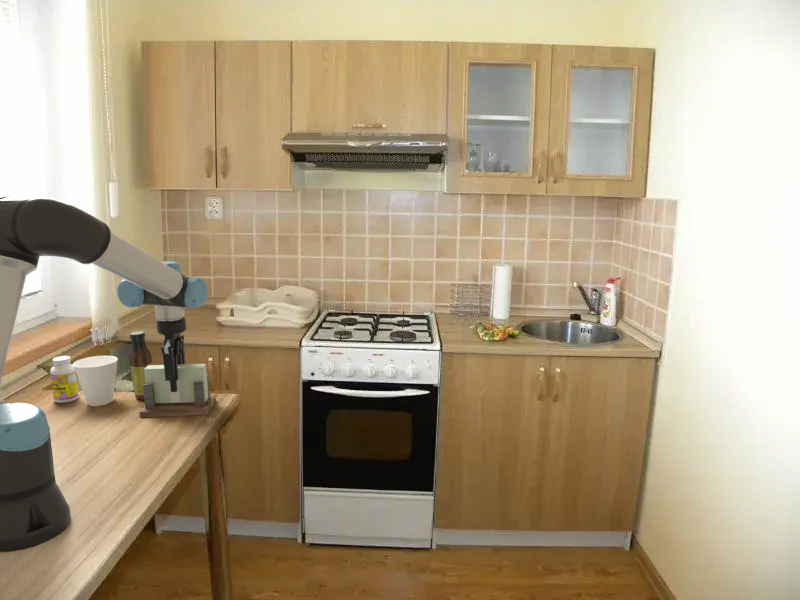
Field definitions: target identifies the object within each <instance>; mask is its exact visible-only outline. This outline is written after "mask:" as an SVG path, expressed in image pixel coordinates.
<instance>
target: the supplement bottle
mask: <svg viewBox="0 0 800 600" xmlns="http://www.w3.org/2000/svg"><path fill="white" fill-rule="evenodd" d="M71 361H72V360H71V356H69V355H61V356H56V357H53V358H52V364H53V366H52V367H51V369H50V370H49V372H50V373H49V374H50V381H51V387H52V388H51V389H52V397H53V401H54V402H55V403H58V404H66V403H71V402H74V401H76V400H77V399H78V398H79V397H80V396H79V387H78V377H77V374H76V371H75V369H74V366H73V364H71Z"/></svg>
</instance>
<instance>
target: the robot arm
mask: <svg viewBox="0 0 800 600" xmlns="http://www.w3.org/2000/svg"><path fill="white" fill-rule="evenodd" d="M40 257H58V258H59V257H60V258H65V259H70V260H73V261H76V262H77V263H80V264H83V265H90V264H93V265H95V266H96V267H99V268H101V269H103V270H105V271H107V272H108V273H111V274H113V275H114V276H117V277H119V278H121V279H122V280H121V281H120V282H119V283H118V285H117V289H116V291H117V298H118V300H119V301H120V303H121V304H122V305H123V306H125V307H127V308H136V307H137V308H139V307H142V306H154V312H155V318H156V330H157V332H156V333H158V334H159V335H163V336H164V339H163V346H161V347H160V349H161V353H162V360H163V361H162V362H163V365H164V370H165V381H169V389H170V400H171V403H175V402H181V392H180V381H179V379H178V367H177V365H178V364H186V356H185V335H183V334H182V333H184V332H185V331H186V330H187V325H186V324H187V323H186V318H185V317H184V316H185V314H186V313H185V310H186V309H187V308H188V309H191V308H200V307H202V306H204V305H205V303H206V302H207V301H208V295H209V287H208V284H207V283H206V281H205V280H204V279H203V278H201V277H195V276H191V277H190V276H186V275H184V274H182V271H181V264H180V263H179V262H177V261H173V260H171V261H160V260H158V259H157V258H154V257H153V256H151V255H150V254H149V253H147V252H145V251H144V250H141V249H140V248H138V247H137V246H134V245H133V244H131V243H129V242H128V241H126V240H124V239H123V238H121V237H120V236H118V235H116V234H114V233H113V232H112V231H111V228H110V227H109V225H108V224H106V223H105V222H104V221H102V220H100V219H98V218H97V217H95V216H93V215H92V214H90V213H88V212H86V211H84V210H82V209H80V208H78V207H76V206H74V205H72V204H70V203H67V202H65V201H63V200H60V199H56V198H53V197H46V196H42V197H41V196H38V197H37V196H36V197H31V196H29V197H13V196H0V384H1V381H2V379H3V374H4V369H5V367H6V361H7V357H8V352H9V349H10V345H11V340H12V338H13V337H12V336H13V333H14V332H13V331H14V328H15V323H16V319H17V316H18V311H19V307H20V303H21V298H22V295H23V291H24V286H25V283H26V278H27V276H28V275H30V273H32V272H35V271H36V270H37V269H38V264H39V261H40ZM52 447H53V446H52V438H51V427H50V425H49V423H48V418H47V414H46V413H45V411H44V410H43V409H42V408H40V407H38V406H37V405H35V404H31V403H26V402H14V403H9V402H5V400H4V399H3V398H2V396H0V552H5V551H6V552H7V551H17V550H21V549H26V548H30V547H33V546H37V545H38V544H41V543H44V542H46V541H49V540H50V539H52V538H54V537H55V536H57V535H59V534H60V533H62V532H63V531H64V530H65V529H66V528H67V527H68V526H69V525H70V523H71V520H72V516H71V508H70V505H69V503H68V501H67V500H66V498H65V496H64V494H63V493H62V490H61V489H60V487H59V486H58V483H57V482H56V474H55V466H54V465H55V464H54V457H53V448H52Z"/></svg>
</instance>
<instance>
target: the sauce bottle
mask: <svg viewBox="0 0 800 600" xmlns="http://www.w3.org/2000/svg"><path fill="white" fill-rule="evenodd" d="M145 337H146V333H145V331H142V330H139V331H138V330H137V331H132V332H131V333H129V339H130V340H131V341H130V342H131V352H130V354H129V367H130V373H131V379H132V380H131V381H132V387H133V393H134V395H135V399H137V400H142V401H143V400H144V391H143V385H144V384H145V374H144V369H145V368H146V367H147V366H148V365H154V364H153V363H154V362H153V359H152V353H151V351H150V350H149V348H148V347H147V345H146V339H145ZM144 401H145V400H144Z"/></svg>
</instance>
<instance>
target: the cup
mask: <svg viewBox="0 0 800 600" xmlns="http://www.w3.org/2000/svg"><path fill="white" fill-rule="evenodd" d="M118 361H119V359H118V357H117V356H114V355H96V356H95V355H94V356H89V357H84V358H80V359H78V360H76V361H74V362H73V364H72V365H73V366H74V369H75V371H76V378H77V381H78V382H79V385H80V388H81V390H82V393H83V396H84V398H85V401H86V403H87V406H89V405H90V407H100V405H102V406H106V405H108V403H109V404H110V402H111V403H112V402H113V401H114V395H115V385H116V376H117V367H118ZM105 404H106V405H105Z"/></svg>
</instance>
